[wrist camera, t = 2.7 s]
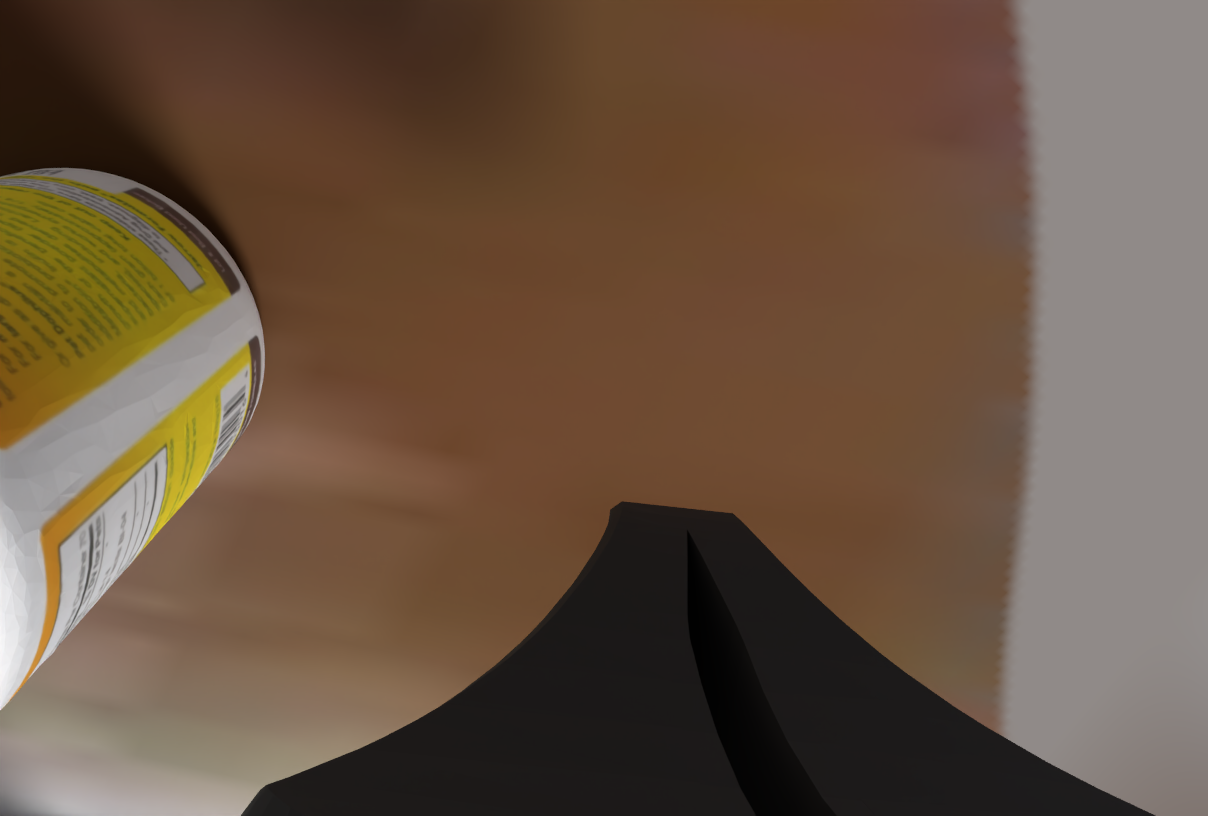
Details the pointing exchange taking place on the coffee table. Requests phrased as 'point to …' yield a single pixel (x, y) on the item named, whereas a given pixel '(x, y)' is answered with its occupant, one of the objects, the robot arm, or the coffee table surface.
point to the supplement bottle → (105, 389)
